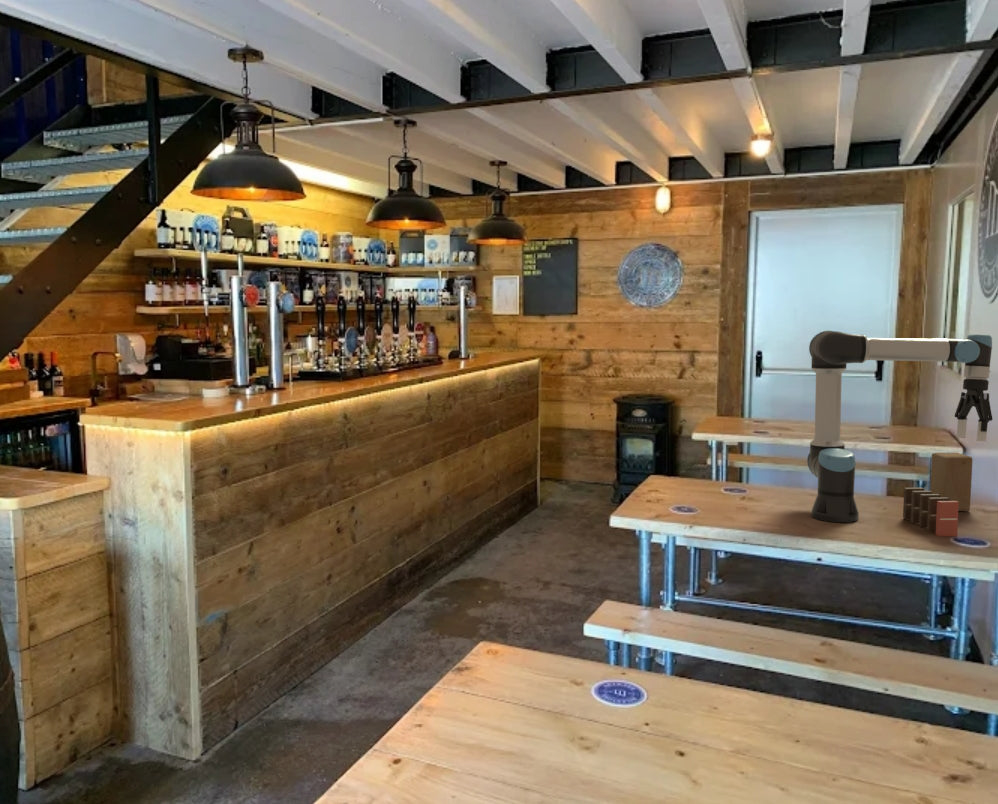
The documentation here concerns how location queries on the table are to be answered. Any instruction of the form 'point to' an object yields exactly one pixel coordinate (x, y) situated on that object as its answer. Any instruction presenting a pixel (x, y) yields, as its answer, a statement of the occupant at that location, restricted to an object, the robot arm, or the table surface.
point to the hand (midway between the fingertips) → (970, 439)
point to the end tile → (947, 518)
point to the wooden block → (952, 477)
